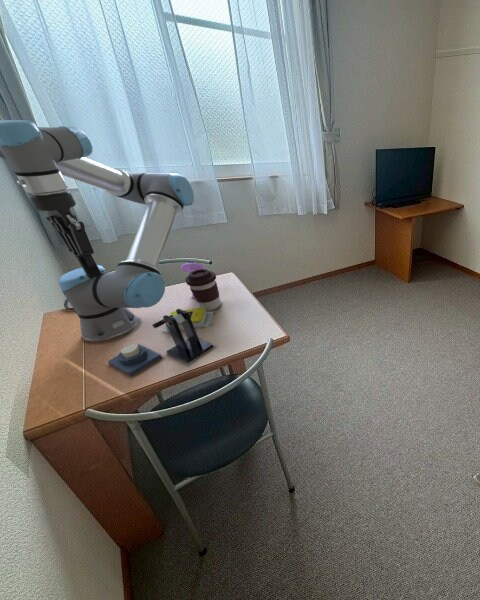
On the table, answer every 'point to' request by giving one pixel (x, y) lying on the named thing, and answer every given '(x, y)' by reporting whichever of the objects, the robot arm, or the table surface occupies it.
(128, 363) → the button block
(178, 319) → the lever
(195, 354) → the stand
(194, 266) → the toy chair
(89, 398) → the table surface
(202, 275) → the coffee cup
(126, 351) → the button
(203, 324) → the yellow grey flat box
